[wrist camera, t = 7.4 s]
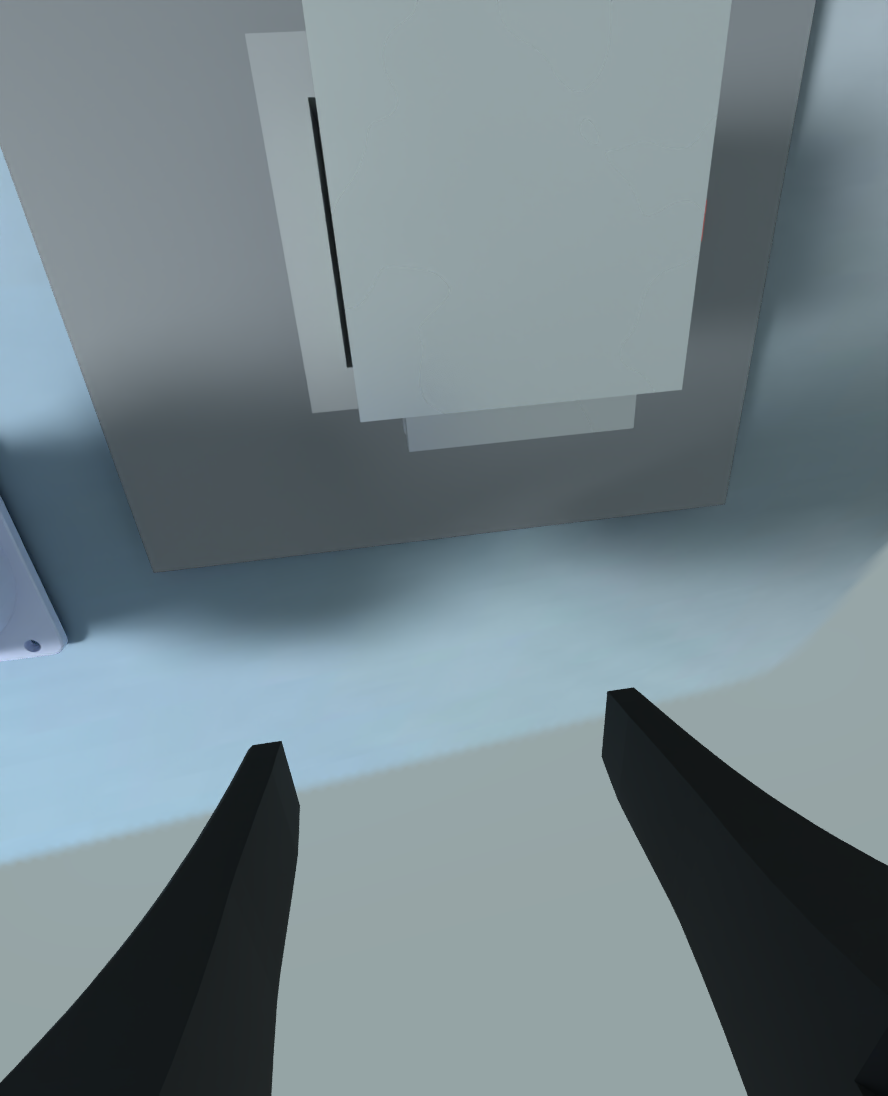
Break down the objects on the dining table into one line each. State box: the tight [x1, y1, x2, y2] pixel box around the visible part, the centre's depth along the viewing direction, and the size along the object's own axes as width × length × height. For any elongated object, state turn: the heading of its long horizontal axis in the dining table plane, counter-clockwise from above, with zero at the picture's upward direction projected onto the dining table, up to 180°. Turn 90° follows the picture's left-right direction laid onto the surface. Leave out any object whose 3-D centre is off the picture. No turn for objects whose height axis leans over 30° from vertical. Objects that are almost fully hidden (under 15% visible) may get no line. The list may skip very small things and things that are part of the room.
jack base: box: [0, 0, 816, 573], centre depth 14 cm, size 20×18×4 cm
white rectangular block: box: [302, 0, 732, 452], centre depth 10 cm, size 5×5×7 cm
